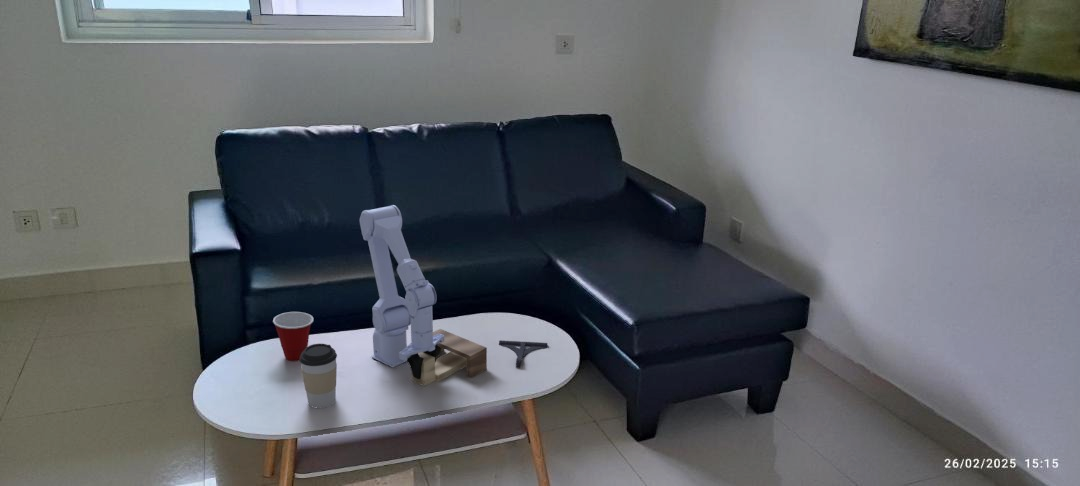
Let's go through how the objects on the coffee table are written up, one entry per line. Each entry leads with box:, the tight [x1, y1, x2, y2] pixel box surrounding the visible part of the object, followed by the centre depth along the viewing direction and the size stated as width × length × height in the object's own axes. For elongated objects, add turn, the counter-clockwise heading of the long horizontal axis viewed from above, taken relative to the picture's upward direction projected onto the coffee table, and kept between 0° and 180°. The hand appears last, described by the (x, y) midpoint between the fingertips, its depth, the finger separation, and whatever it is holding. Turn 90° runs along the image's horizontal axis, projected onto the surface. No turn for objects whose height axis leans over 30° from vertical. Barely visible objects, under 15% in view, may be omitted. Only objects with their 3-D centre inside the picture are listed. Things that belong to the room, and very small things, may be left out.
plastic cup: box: [272, 311, 314, 362], centre depth 208 cm, size 11×11×12 cm
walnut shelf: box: [433, 328, 488, 379], centre depth 208 cm, size 18×6×7 cm, turn 52°
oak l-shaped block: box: [410, 351, 467, 387], centre depth 204 cm, size 7×20×7 cm, turn 142°
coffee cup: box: [299, 343, 338, 409], centre depth 186 cm, size 9×9×15 cm
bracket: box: [498, 340, 549, 369], centre depth 214 cm, size 14×15×3 cm
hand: (423, 374), depth 199 cm, fingers closed on oak l-shaped block, 4 cm apart
